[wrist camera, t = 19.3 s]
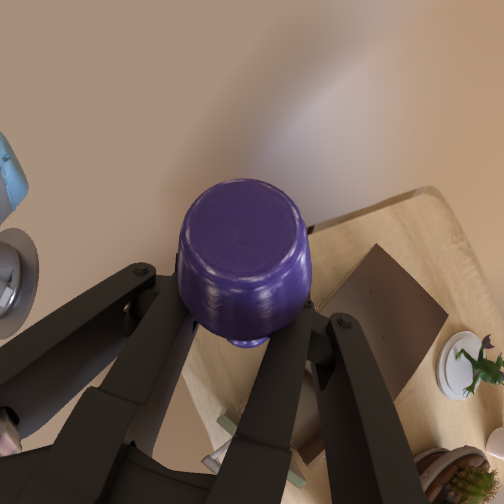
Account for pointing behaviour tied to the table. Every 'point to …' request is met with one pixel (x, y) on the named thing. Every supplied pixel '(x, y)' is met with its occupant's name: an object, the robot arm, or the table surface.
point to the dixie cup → (496, 443)
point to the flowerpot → (455, 475)
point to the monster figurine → (466, 365)
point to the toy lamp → (244, 261)
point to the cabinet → (388, 315)
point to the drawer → (303, 436)
